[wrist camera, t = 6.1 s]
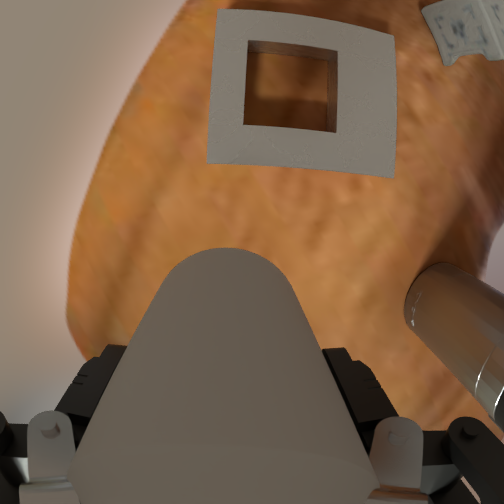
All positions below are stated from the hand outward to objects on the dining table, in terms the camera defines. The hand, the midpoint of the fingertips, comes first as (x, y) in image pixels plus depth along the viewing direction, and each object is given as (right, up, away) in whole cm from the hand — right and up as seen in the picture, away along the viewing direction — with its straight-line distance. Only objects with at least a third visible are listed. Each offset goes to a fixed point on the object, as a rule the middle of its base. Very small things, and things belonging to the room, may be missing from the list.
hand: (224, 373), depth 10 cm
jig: (+6, +18, +15) cm, 24 cm away
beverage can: (0, +1, +5) cm, 5 cm away
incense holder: (+25, +29, +14) cm, 41 cm away
